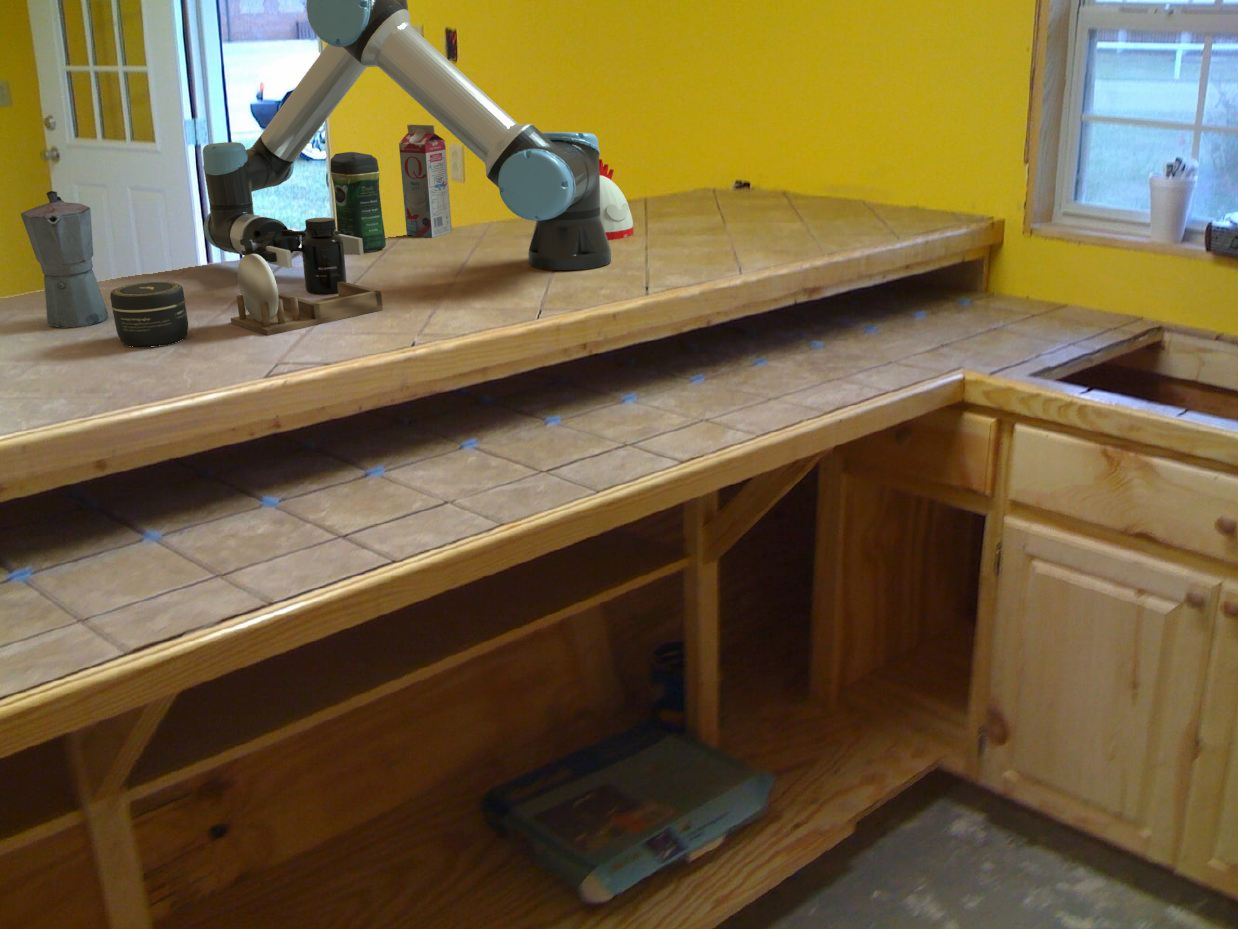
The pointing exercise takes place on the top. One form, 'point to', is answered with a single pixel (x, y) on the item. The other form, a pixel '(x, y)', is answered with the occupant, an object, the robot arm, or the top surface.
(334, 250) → the supplement bottle
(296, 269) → the top surface
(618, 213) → the kitchen timer
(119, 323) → the jar
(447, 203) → the juice carton
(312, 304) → the dish rack
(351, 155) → the coffee jar
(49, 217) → the moka pot
